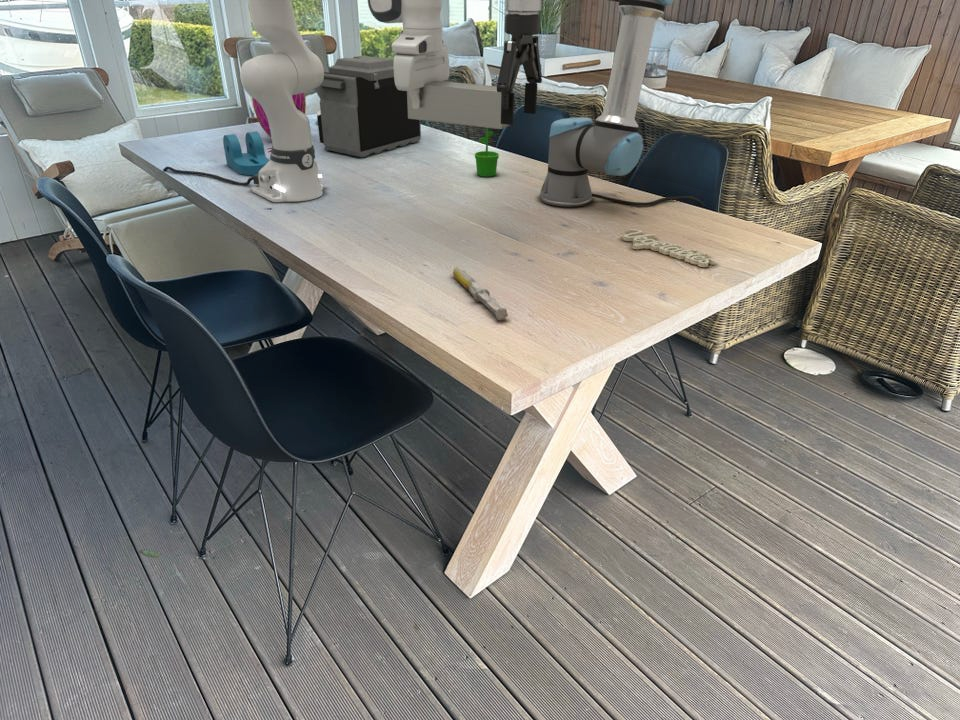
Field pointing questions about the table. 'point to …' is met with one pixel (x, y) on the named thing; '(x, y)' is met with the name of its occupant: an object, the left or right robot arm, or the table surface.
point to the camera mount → (245, 161)
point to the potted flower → (486, 159)
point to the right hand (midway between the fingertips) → (518, 118)
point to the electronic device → (364, 108)
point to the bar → (458, 104)
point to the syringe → (479, 293)
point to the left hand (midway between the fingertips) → (424, 105)
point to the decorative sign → (667, 248)
